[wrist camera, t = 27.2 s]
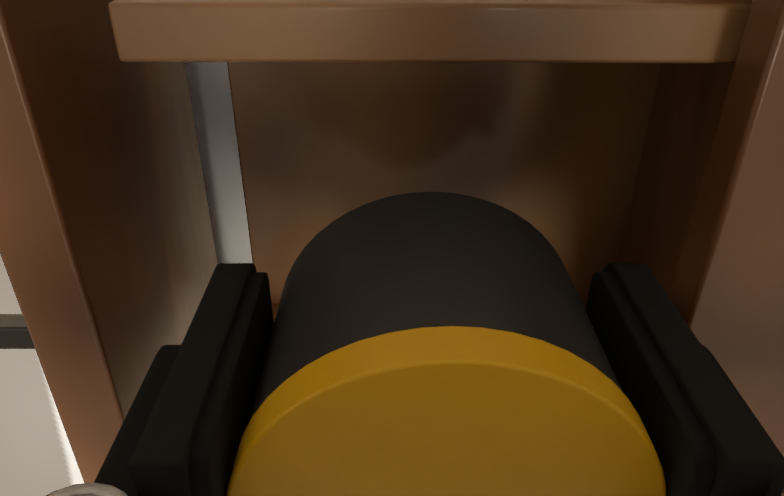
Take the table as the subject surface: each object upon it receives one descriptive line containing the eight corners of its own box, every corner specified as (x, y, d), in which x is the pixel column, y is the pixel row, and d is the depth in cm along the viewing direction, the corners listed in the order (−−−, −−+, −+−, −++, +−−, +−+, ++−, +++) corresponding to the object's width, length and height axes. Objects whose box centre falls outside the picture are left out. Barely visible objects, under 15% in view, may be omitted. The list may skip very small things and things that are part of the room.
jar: (262, 187, 9) (191, 362, 6) (598, 187, 9) (721, 362, 6) (288, 429, 12) (250, 649, 9) (553, 428, 12) (620, 647, 9)
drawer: (33, 321, 20) (-131, 527, 14) (-113, -86, 14) (-520, -57, 8) (613, 321, 20) (717, 523, 14) (706, -83, 14) (961, -52, 8)
